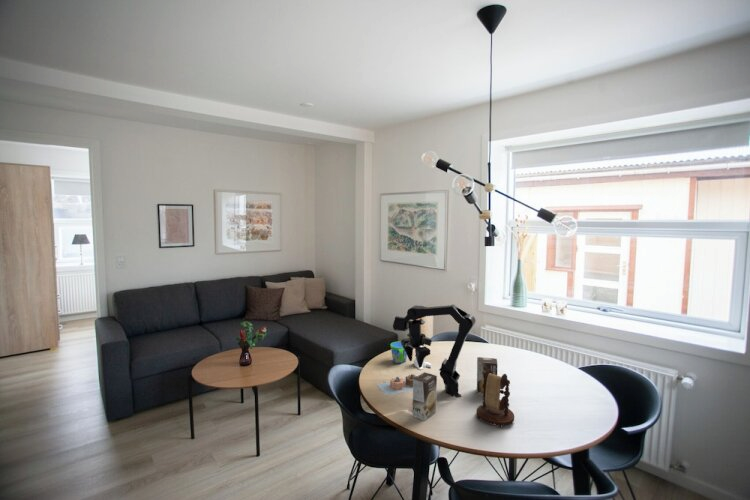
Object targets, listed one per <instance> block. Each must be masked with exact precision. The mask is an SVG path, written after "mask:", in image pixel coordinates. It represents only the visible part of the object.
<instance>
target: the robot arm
mask: <svg viewBox="0 0 750 500" xmlns="http://www.w3.org/2000/svg"><path fill="white" fill-rule="evenodd" d="M448 315H449V316H451V317H452V318H453V320H454V321H455V322H456V323H458V331H457V336H456V339H455V341H454V343H453V346H452V349H451V350H450V353H449V355H448V358H444V360H443V361H442V362H441V365H440V366H441V367H440V368H439V369H438V371H439V376H440V378H441V379H442V381H443V384H444V392H445V393H444V394H446V395H447V396H451V397H455V398H459V397H462V394H460V393H459V380H460V377H461V374H460V373H458V371H457V370H456V369H457V362H458V359H459V356H460V354H461V351H462V349H463V346H464V344H465V341H466V339H467V336H468V334H469V333H470V331H471V330H472V329H473V327H474V326H475V323H476V318H475V316H474V315H473V314H470V313H468V312H466V310H463V309H462V308H460V307H458V305H456V304H451V305H449V304H448V305H440V306H424V305H413V306H412V307H410V308H409V309H407V311H406V316H404V317H403V316H395V317H394V321H393V324H392V329H393V330H394V331H398V332H407V330H408V333H407V334H406V335H407V337H408V338H403V339H401V340H400V342H401V345H402V347H403V348H404V350H405V352H406V354H407V358H408V360H409V362H412V361H413V354H414V353H415V355H414V356H415V358H416V359H417V363H418V366H419V368H421V367H422V364H423V361H424V359H426V357H427V356H430V355H431V349H430V348H428V347H427V346H429V347H431V346H432V341H433V339H431V338H430V337H427V336H426V334H424V333H422V328H421V327H422V326H423V325H424V324H425V323H426V321H424V319H423V318H425V317H436V316H448ZM420 346H423V347H420ZM414 349H416V350H414ZM413 350H414V351H413Z"/></svg>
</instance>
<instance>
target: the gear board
mask: <svg viewBox="0 0 750 500" xmlns="http://www.w3.org/2000/svg"><path fill="white" fill-rule="evenodd" d="M402 379H403V380H405V387H403V389H399V390H397V389H392V387H390V381H388V382H382V383H376V386H378V387H379V389H380V390H381V391H382V392H383V394H385V395H386V396H392V395H396V394H400V393H406V392H411V391H412V392H413V386H411V387H410V386H409V385H406V378H405V379H404V378H402Z"/></svg>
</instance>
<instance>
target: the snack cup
mask: <svg viewBox="0 0 750 500" xmlns="http://www.w3.org/2000/svg"><path fill="white" fill-rule="evenodd" d="M390 350H391V357H392V361H393V363H394V364H397V365H398V364H399V365H401V364H404V363H406V362H407V358H408V356H407V354H406V352H405V350H404V348H403V347H402V345H401V341H393V342H391V343H390Z"/></svg>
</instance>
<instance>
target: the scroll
mask: <svg viewBox="0 0 750 500" xmlns="http://www.w3.org/2000/svg"><path fill="white" fill-rule="evenodd" d="M483 376H484V377H483V378H484V381H483V382H484V383H483V385H482V387H483V389H484V391H483V393H484V394H483V396H482V404H480V405H479V406H477V407H476V416H477V419H478V420H480V421H482V422H484V423H487V424H489V425H493V426H498V427H499V429H502V428H503V426H508V425H510V424H513V422H514V421H515V414H514V412H513V411H512V410H511V409H510V403H509V401H510V400H509V397H510V395H511V392H510V384H511V382H510V380H509V379H508V375H507V374H506V373H503V374H502V376H499V375H498V374H497V375H494V374H492V370H491V369H488V370H487V371H486V372H485V373H483ZM504 389H505V390H504ZM501 394H503V396H502V397H501ZM500 398H501V399H500Z"/></svg>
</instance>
